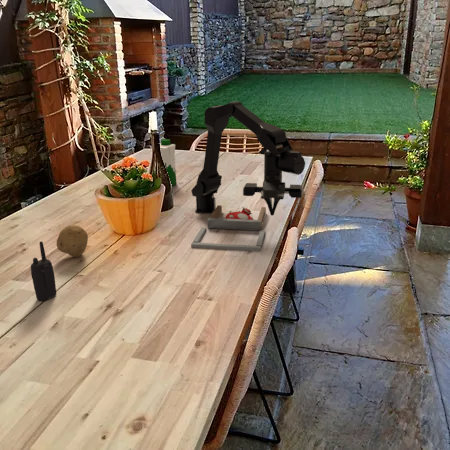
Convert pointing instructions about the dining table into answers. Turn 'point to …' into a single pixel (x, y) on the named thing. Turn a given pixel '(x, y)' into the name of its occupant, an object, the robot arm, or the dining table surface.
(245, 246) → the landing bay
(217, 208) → the stall
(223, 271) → the dining table surface
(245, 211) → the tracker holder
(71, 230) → the potato
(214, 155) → the robot arm
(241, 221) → the bar
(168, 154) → the milk carton
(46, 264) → the two-way radio
